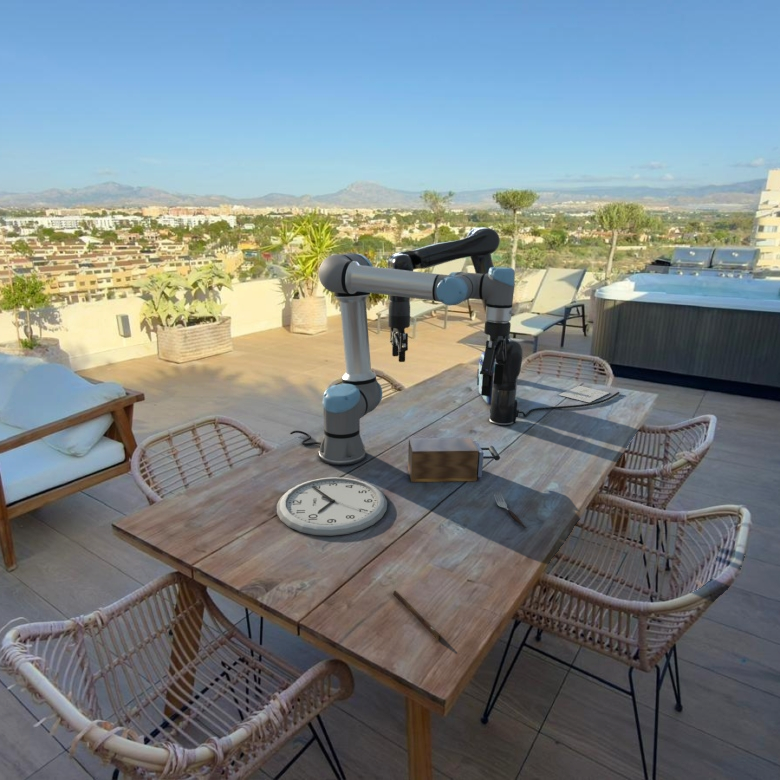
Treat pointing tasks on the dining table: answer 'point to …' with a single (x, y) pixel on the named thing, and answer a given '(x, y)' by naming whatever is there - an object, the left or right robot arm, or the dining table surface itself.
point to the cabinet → (442, 459)
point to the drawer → (485, 457)
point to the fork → (504, 505)
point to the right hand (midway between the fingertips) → (398, 358)
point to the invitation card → (584, 394)
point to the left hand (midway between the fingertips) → (492, 389)
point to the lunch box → (479, 380)
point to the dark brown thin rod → (416, 614)
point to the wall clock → (331, 506)
